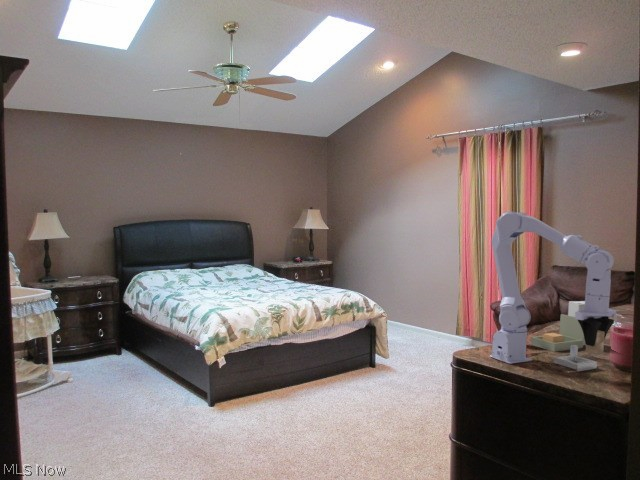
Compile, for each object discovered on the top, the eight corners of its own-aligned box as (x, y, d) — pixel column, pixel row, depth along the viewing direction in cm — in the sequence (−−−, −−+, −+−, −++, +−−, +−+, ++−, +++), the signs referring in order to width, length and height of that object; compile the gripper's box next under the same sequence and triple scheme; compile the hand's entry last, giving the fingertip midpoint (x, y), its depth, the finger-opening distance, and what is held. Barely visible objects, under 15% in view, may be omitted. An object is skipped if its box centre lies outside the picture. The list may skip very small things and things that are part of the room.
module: (552, 348, 161) (553, 336, 161) (542, 345, 165) (542, 333, 164) (562, 347, 163) (563, 335, 163) (552, 344, 167) (553, 332, 167)
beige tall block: (595, 354, 132) (597, 332, 132) (585, 351, 135) (587, 330, 134) (603, 353, 133) (604, 331, 133) (592, 350, 136) (594, 329, 136)
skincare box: (587, 342, 174) (589, 300, 174) (599, 346, 168) (602, 303, 168) (565, 342, 173) (567, 300, 172) (576, 346, 167) (579, 303, 166)
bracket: (577, 371, 138) (578, 353, 138) (553, 363, 145) (554, 347, 145) (596, 368, 142) (597, 351, 142) (572, 361, 149) (573, 344, 148)
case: (554, 352, 158) (555, 321, 157) (530, 345, 166) (532, 316, 165) (583, 349, 164) (585, 319, 164) (560, 342, 172) (561, 314, 172)
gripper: (594, 298, 127) (590, 350, 127) (628, 296, 133) (625, 346, 134) (569, 294, 133) (566, 343, 133) (603, 292, 139) (600, 339, 140)
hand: (594, 344), depth 134 cm, fingers closed on beige tall block, 3 cm apart
